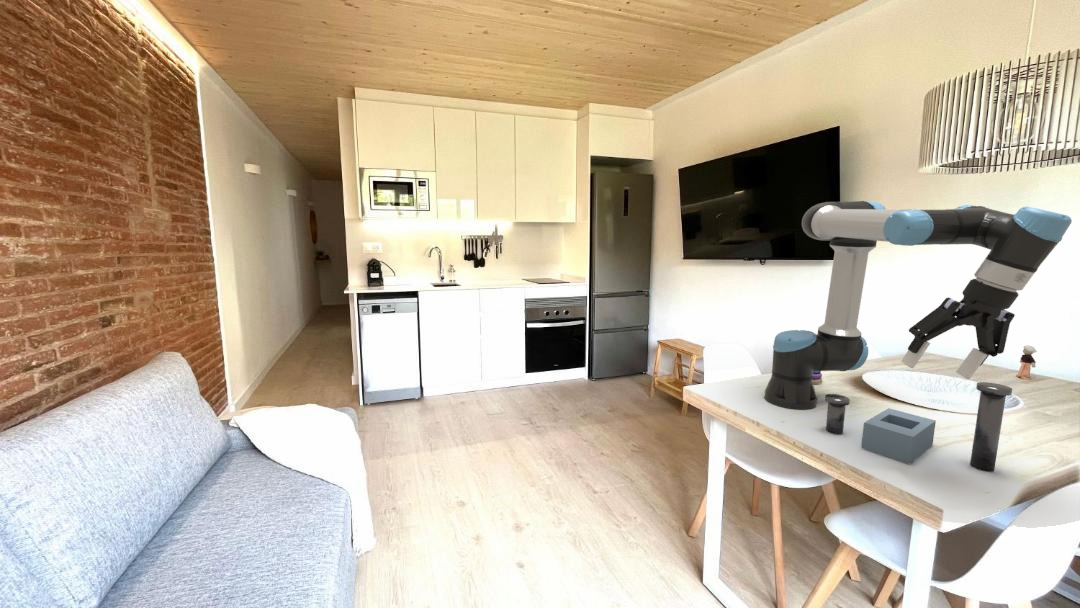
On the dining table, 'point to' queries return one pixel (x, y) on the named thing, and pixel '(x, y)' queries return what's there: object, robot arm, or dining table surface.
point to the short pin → (836, 413)
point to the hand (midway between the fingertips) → (934, 370)
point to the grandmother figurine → (1026, 362)
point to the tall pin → (988, 425)
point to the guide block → (898, 435)
